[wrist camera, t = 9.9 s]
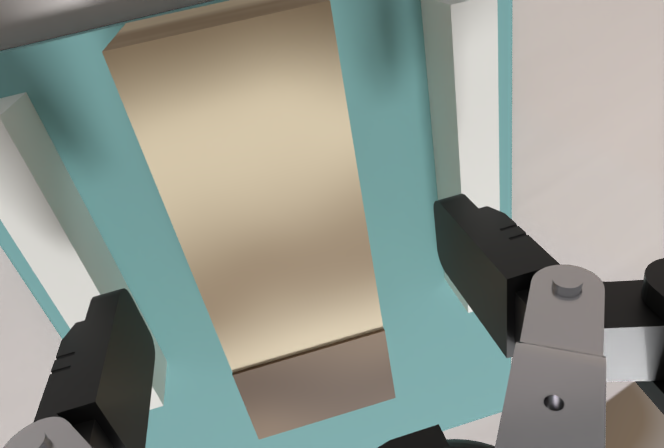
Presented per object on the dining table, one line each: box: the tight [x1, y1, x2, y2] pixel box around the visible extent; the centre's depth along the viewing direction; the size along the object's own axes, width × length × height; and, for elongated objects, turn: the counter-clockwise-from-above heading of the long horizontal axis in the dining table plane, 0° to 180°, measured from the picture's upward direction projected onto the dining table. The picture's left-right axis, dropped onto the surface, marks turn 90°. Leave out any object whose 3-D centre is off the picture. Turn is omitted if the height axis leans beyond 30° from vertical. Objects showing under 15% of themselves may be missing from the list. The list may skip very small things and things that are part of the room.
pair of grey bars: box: [0, 0, 500, 410], centre depth 15 cm, size 13×10×2 cm
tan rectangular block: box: [102, 0, 396, 440], centre depth 14 cm, size 12×4×4 cm, turn 10°
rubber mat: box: [0, 0, 512, 448], centre depth 18 cm, size 16×20×1 cm
